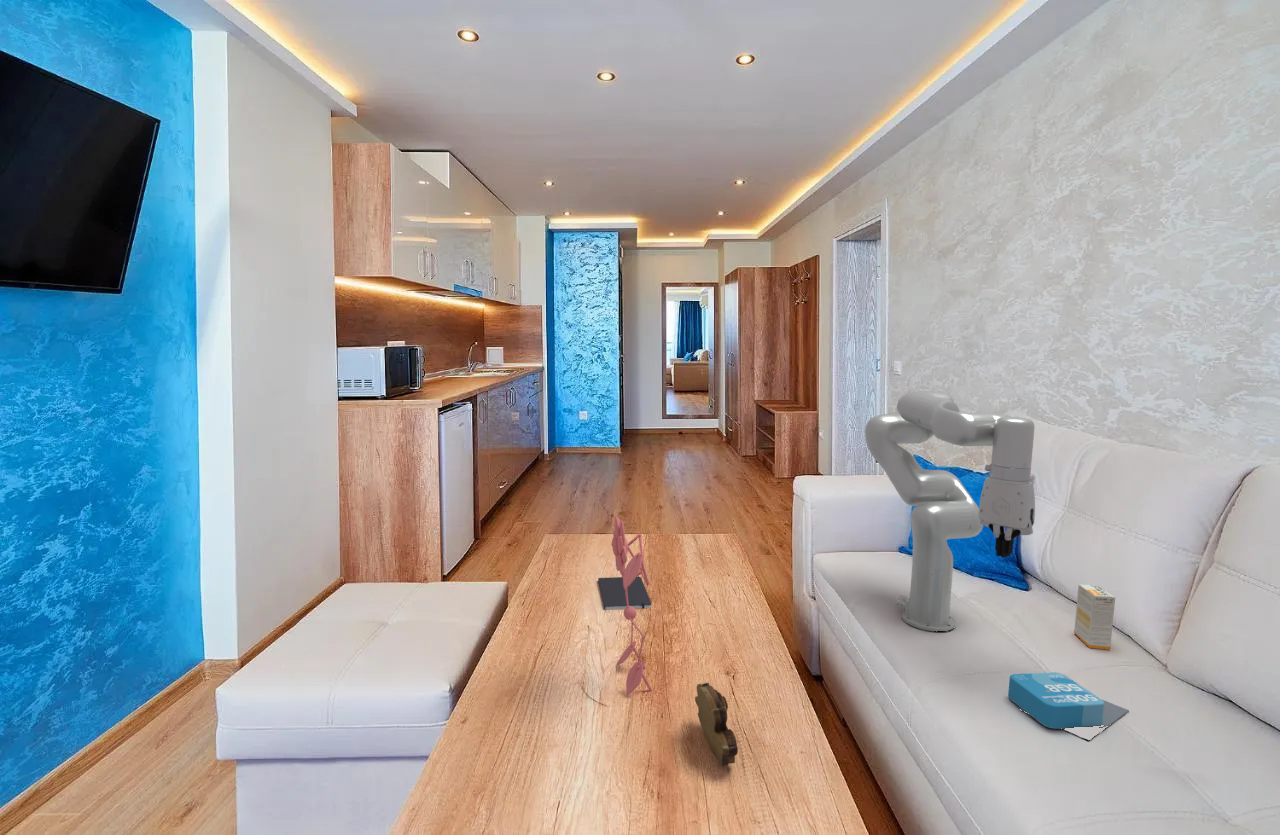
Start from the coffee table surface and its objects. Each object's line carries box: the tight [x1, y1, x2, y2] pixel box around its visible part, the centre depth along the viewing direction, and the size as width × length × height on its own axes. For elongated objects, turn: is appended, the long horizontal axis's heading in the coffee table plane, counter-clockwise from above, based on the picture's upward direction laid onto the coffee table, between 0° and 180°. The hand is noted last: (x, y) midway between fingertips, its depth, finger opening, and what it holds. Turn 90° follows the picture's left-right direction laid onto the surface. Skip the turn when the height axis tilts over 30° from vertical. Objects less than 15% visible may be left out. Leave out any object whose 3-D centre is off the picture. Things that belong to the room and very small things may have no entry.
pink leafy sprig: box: [581, 515, 653, 708], centre depth 132 cm, size 15×26×35 cm, turn 8°
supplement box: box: [1073, 583, 1116, 651], centre depth 156 cm, size 8×5×13 cm, turn 168°
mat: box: [1019, 699, 1130, 730], centre depth 126 cm, size 12×18×1 cm, turn 124°
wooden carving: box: [694, 682, 739, 767], centre depth 112 cm, size 16×5×10 cm, turn 17°
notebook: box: [597, 576, 652, 611], centre depth 182 cm, size 13×2×21 cm
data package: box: [1007, 672, 1104, 729], centre depth 126 cm, size 12×4×12 cm
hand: (1003, 555), depth 142 cm, fingers closed
